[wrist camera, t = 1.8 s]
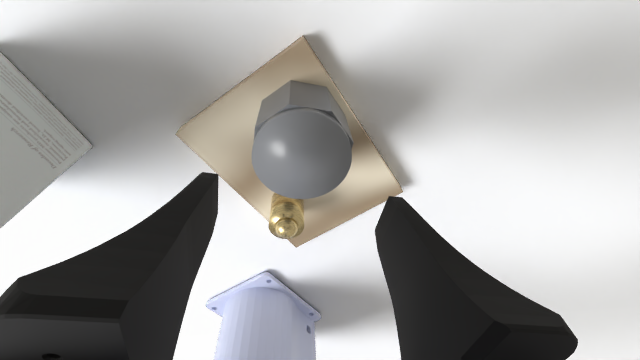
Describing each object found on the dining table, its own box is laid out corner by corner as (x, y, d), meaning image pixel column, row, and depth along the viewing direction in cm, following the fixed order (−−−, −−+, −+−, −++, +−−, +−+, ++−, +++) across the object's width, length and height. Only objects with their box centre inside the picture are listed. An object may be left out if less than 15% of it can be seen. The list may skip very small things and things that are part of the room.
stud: (309, 203, 24) (311, 237, 21) (284, 217, 24) (282, 252, 21) (290, 182, 22) (289, 215, 19) (264, 197, 23) (260, 232, 20)
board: (399, 184, 24) (403, 192, 24) (296, 238, 27) (296, 247, 26) (303, 35, 18) (303, 38, 17) (180, 127, 21) (175, 134, 20)
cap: (356, 132, 20) (369, 169, 17) (293, 170, 22) (291, 213, 18) (312, 64, 18) (315, 91, 14) (242, 113, 19) (229, 149, 16)
